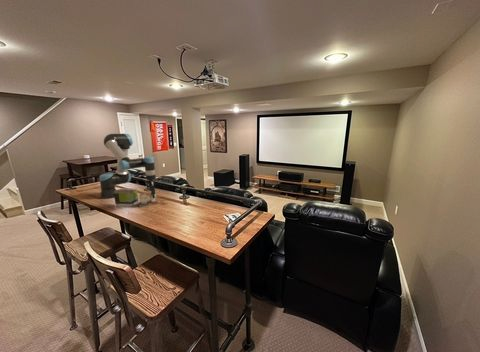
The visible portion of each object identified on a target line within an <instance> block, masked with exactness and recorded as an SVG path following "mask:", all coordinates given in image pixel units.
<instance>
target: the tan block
mask: <svg viewBox="0 0 480 352" xmlns="http://www.w3.org/2000/svg"><path fill="white" fill-rule="evenodd" d="M139 198H140V202H141V205H143V204H147V201H148V200H147V198H148V197H147V193H146V192H141V193H139Z"/></svg>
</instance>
